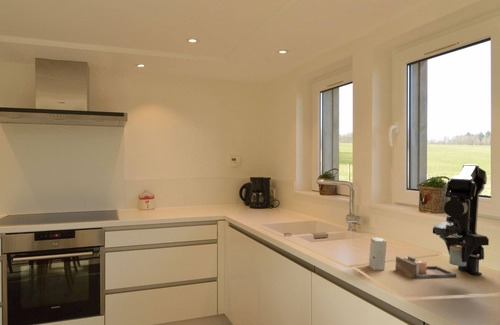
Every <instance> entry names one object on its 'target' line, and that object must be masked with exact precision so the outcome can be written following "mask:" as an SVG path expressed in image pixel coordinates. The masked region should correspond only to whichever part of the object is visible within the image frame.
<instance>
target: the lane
mask: <svg viewBox="0 0 500 325" xmlns="http://www.w3.org/2000/svg"><path fill="white" fill-rule="evenodd" d="M415 267H416V264H414V263H411V262H409V261H407V260H405V259H404V257H400V256H395V271H397V272H399V273H401V274H403V275H405V276H406V277H409V278H410V279H412V280H413V279H436V278H437V279H439V278H457V274H456V273H454V272H451V271H450V270H447V269H444V268H442V267H440V266H438V265H427V268H426V274H425V275H415Z"/></svg>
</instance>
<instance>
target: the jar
mask: <svg viewBox="0 0 500 325" xmlns="http://www.w3.org/2000/svg"><path fill="white" fill-rule="evenodd" d="M415 261H416V262H418V263H419V275H425V274H426V268H427V266H428V265H427V264H428V263H427V261H425V260H422V259H416V258H415Z"/></svg>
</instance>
